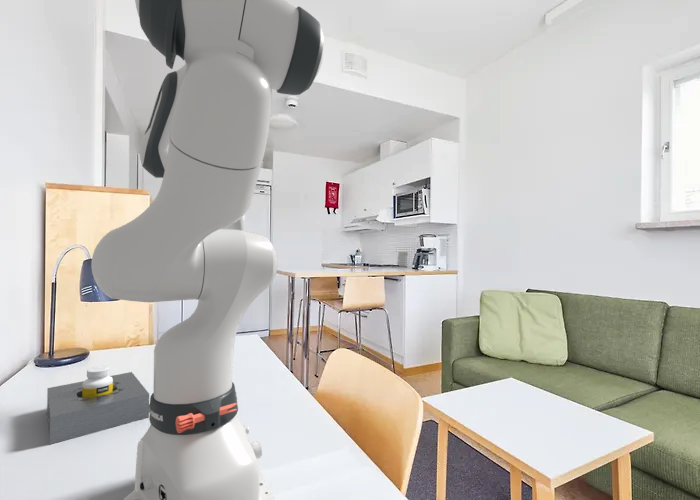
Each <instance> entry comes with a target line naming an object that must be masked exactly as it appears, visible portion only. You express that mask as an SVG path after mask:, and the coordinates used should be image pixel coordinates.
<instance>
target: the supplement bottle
mask: <svg viewBox="0 0 700 500" xmlns="http://www.w3.org/2000/svg"><path fill="white" fill-rule="evenodd" d="M110 376H111V375H110V366H108V365H100V366H99V365H98V366H95V367H90V368H88V369H86V378H87V379H85V380H83V381H84V382H83V385H82V398H93V397H97V396H102V395H106V394H109V393H111V392H113V379H112V377H110Z"/></svg>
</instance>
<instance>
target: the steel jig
mask: <svg viewBox="0 0 700 500" xmlns="http://www.w3.org/2000/svg"><path fill="white" fill-rule="evenodd" d="M109 376H110V377H112V379H113V392H111V393H109V394H106V395H102V396H97V397H93V398H82V385H83V382H84V381H85V380H83V381H78V382H77V381H76V382H73V383H67V384H62V385H58V386H52V387H48V388H47V390H46V391H47V393H46V394H47V395H46V397H47V401H46V405H47V406H46V408H47V409H46V412H47V424H48V425H47V426H48V439H49V445H54V444H57V443H60V442H64V441H69V440H72V439H76V438H79V437H82V436H86V435H90V434H94V433H97V432H100V431H105V430H108V429H111V428H116V427H120V426H122V425H127V424H130V423H133V422H137V421H141V420H143V419H144V420H145V419H149V418H150V413H149V404H150V392H148V391H147V389H146V388H145V386H144V385H143V384H142V383H141V382H140V380H139V379H138V378H137V377H136V375H135V374H134V373H133V372H132V371H129V372H125V373H119V374H114V375H109Z"/></svg>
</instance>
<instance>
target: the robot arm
mask: <svg viewBox="0 0 700 500" xmlns="http://www.w3.org/2000/svg"><path fill="white" fill-rule="evenodd" d="M134 2H135V8H136V12H137V15H138V18H139V25H140V28H141V30H142V31H143V33H144V35H145V37H146V38H147V40H148V41H149V42H150V44H151V45H152V47H153V48H154V49H156V50H157V51H158V52H159V53H160V54H161V55H162V56H163V57H165V64H166V66H167V67H168V68H170V69H171V70H173V69H174V66H175V65H174V64H175V61H176V57H177V56H178V57H179V58H181V60H183V61H184V65H183V66H182V67H181V68H179V69H177V70H175V71H171V72H169V73H167V74H166V76H165V77H164V78H163V81H162V82H161V85H160V89H159V91H158V94H157V96H156V99H155V103H154V106H153V109H152V112H151V116H150V118H149V123H148V126H147V128H146V130H145V131H144V132H145V133H144V135H143V137H142V139H141V141H140V143H139V144H140V145H139V160H140V163H141V166H142V168H143V169H144V170H145V171H146V172H147V173H148V174H150V175H151V176H153V178H156V179H158V178H159V179H162V181H161V185H160V188H159V191H158V193H157V195H156V197H155V198H154V200H152V202H151V204H149V206H148V207H147V208H146V209H145V210H144V211H143V212H142V213H140V215H138V216H136V217H135V218H134V219H132V220H131V221H129V222H127V223H126V224H123V225H121V226H119V227H116V228H114V229H112V230H110V231H109V232H107V233H105V235H104V236H102V238H101V239H100V240H99V242H98V243H97V244H96V247H95V249H94V251H93V254H92V257H91V263H90V264H91V273H92V277H93V280H94V282H95V283H96V285H97V287H98V288H99V289H100V291H101V292H102V293H104V295H106V296H107V297H108V298H109V299H111V300H120V301H128V302H139V303H140V302H141V303H161V302H176V301H178V302H179V301H188V300H189V301H190V300H191V301H192V300H198V302H197V306H196V307H195V308H196V309H194V311H193V312H192V313H191V315H190V316H189V317H188V318H187V319H184V320H183V321H181V322H179V323H178V324H176V325H174V326H172V327H171V328H169V329H167V330H166V331H165V332H164V333H163V334H162V335H161V336H160V337H159V338H158V340H157V342H156V343H155V346H154V349H153V392H152V393H151V395H150V396H149V417H148V419H149V423H150V425H149V428H148V429H147V430H146V432H145V434H144V435H143V437H141V438H140V440H139V441H138V443H137V445H136V446H137V447H136V448H137V449H136V459H135V460H136V463H135V478H134V480H135V481H134V489H133V490H132V491H131V492H130V493H128V495H126V496H125V497H124V498H123V499H122V500H277V498H276V496H275V494H274V492H273V491H272V489H271V487H270V485H269V483H268V482H267V480H266V477H265V475H264V474H263V472H262V470H261V468H260V466H259V462H258V460H259V459H261V458H262V455H263V450H262V446H261V442H260V441H255V442H252V443H251V441H250V439H249V436H248V435H249V431H250V429H249V426H248V424H246V425H243V422H242V420H241V417H240V414H239V406H238V394H237V390H236V386H235V383H234V382H233V368H234V367H233V363H234V362H233V361H234V350H235V341H236V336H237V332H238V330H239V326H240V323H241V321H242V319H243V317H244V315H245V313H246V312H247V310H248V309H249V307H250V306H251V305H252V303H253V302H254V301H255V300H256V298H258V297H259V296H260V295H261V294H262V293H264V292H265V291H266V290H267V289H268V288H269V287H270V285H271V284H272V282H273V281H274V280H275V277H276V275H277V271H278V265H279V263H278V262H279V261H278V255H277V252H276V251H277V250H276V249H275V247H274V245H273V243H272V242H271V240H269V238H268V237H267V236H265V235H262V234H257V233H254V232H249V231H245V230H244V215H245V214H246V213H247V212H248V211H249V209H250V207H251V204H252V202H253V197H254V194H255V190H256V187H257V182H258V179H259V174H260V171H261V167H262V165H263V160H264V156H265V153H266V149H267V144H268V143H267V142H268V138H269V132H270V126H271V116H272V105H273V104H272V102H273V90H276V93H278V94H282V95H290V96H300V95H301V94H303V93H304V92H306V91H307V90H309V89H310V88H311V86H312V84H313V83H314V81H315V80H316V78H317V76H318V74H319V72H320V70H321V66H322V64H323V57H324V44H325V43H324V41H325V39H324V38H325V37H324V33H323V32H324V31H323V30H322V27H321V24H320V21H318V19H316V18H315V16H313V15H312V14H311V13H309V12H308V11H307V10H306V9H304V8H302V7H301V6H296V7H295V6H294V5H292V4H291V3H289V2H288V1H287V0H134Z"/></svg>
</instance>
